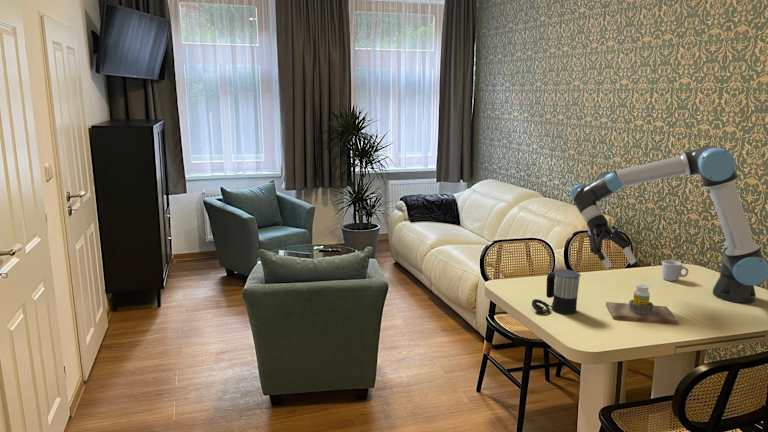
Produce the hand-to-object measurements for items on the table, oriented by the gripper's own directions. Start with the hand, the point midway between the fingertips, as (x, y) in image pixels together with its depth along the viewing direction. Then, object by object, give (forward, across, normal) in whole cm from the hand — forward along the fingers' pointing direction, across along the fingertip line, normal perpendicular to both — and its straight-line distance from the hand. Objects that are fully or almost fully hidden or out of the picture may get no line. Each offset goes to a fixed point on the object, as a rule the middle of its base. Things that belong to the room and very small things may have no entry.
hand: (621, 264), depth 224 cm
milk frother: (+7, +27, -16) cm, 32 cm away
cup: (+4, -49, -20) cm, 53 cm away
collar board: (+19, 0, -4) cm, 19 cm away
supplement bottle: (+18, 0, -3) cm, 18 cm away
